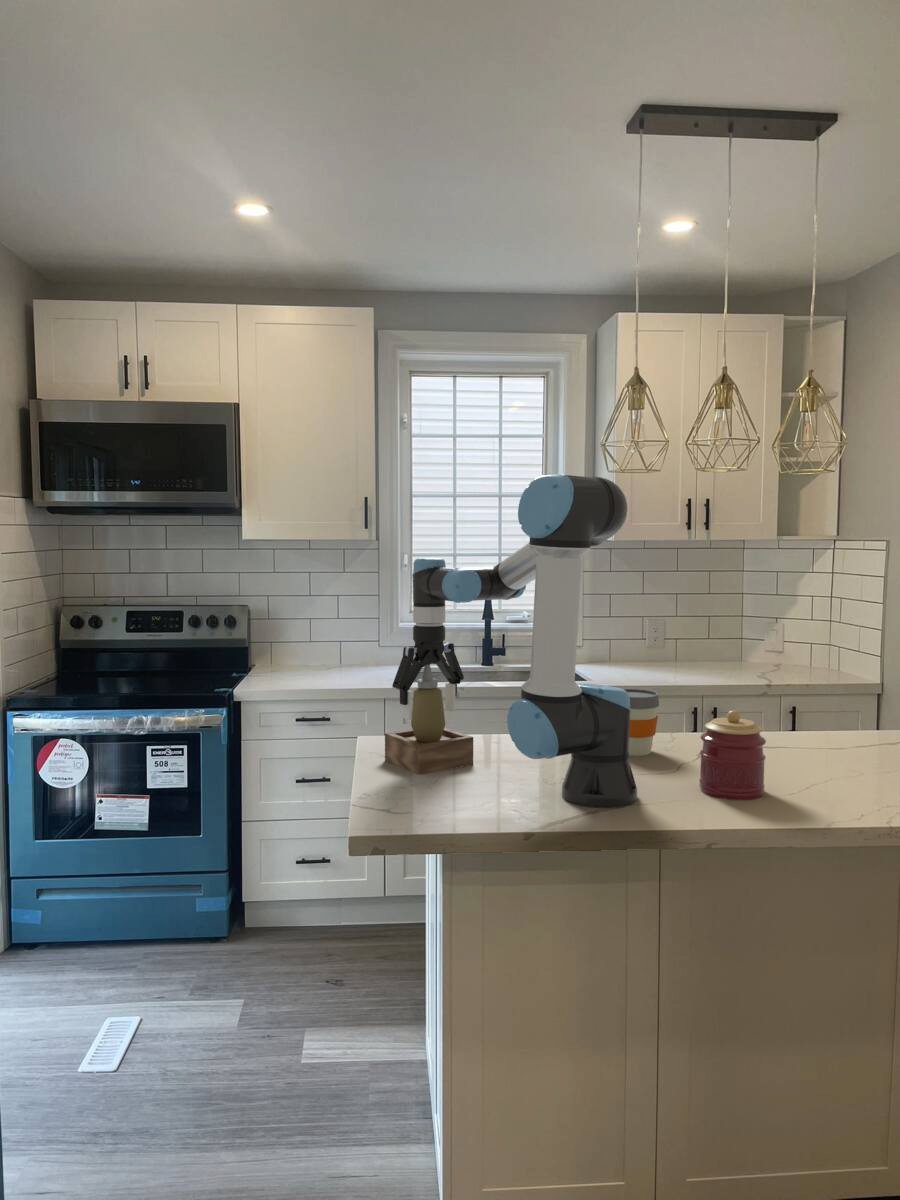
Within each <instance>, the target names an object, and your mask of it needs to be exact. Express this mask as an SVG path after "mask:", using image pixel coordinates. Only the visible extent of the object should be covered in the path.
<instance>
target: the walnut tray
mask: <svg viewBox="0 0 900 1200" xmlns="http://www.w3.org/2000/svg"><path fill="white" fill-rule="evenodd" d="M384 761H385V762H387V763H389V764H391V765H395V766H396V767H400V768H402V769H404V770H407V771H410V772H412V773H414V774H417V775H425V774H426V775H427V774H430V773H435V772H436V773H437V772H440V771H441V772H442V771H446V770H451V768H453V769H457V768H456V767H458V768H461V767H460V766H464V767H467V766H466V765H469V766H473V765H474V736H471V735H469V734H465V733H462V732H459V731H457V730H456V731H455V730H452V729H449V728H446V727H444V730H443V734H442V737H441V739H440V740H439V741H435V742H420V741H417V740H416V738H415V735H414V732H413V729H412V728H411V729H405V730H399V731H393V732H385V733H384Z"/></svg>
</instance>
